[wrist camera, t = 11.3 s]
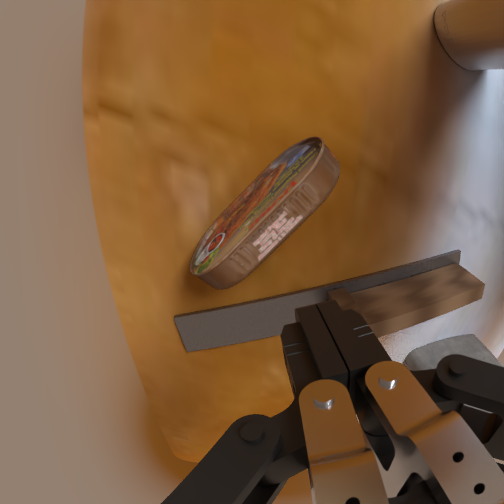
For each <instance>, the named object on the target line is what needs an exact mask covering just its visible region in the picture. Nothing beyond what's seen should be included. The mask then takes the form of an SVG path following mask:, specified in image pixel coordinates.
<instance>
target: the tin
mask: <svg viewBox="0 0 504 504" xmlns="http://www.w3.org/2000/svg"><path fill="white" fill-rule="evenodd" d="M339 173H340V165H339V162H338V160H337V158H336V157H335V156H334V155H333V153H332V152H331V151H330V150H329V149H328V148H327V146H326V145H325V144H324V142H323V140H322V139H321V138H320V137H310V138H307V139H305V140H302V141H300V142H298V143H297V144H295V145H293V146H291V147H290V148H289V149H287V150H286V151H284V152H283V153H282V154H281V155H280V156H278V157H277V158H276V159H275V160H274V161H273V162H272V163H271V164H270V165H269V166H268V167H267V168H266V169H265V170H264V171H263V172H262V173H261V174H260V175H259V176H258V177H257V178H256V179H255V180H254V181H253V182H252V183H251V184H250V185H249V186H248V187H247V188H246V189H245V190H244V191H243V192H242V193H241V194H240V195H239V196H238V197H237V198H236V199H235V200H234V201H233V202H232V203H231V204H230V205H229V207H228V208H227V209H226V210H225V211H224V212H223V213H222V214H221V215H220V216H219V217H218V218H217V219H216V220H215V222H214V223H213V224H212V225H211V226H210V228H209V229H208V230H207V232H206V233H205V234H204V236H203V237H202V239H201V240H200V242H199V244H198V246H197V248H196V250H195V252H194V254H193V257H192V260H191V263H190V271H191V273H192V274H193V275H195V276H198V277H199V278H200V279H202V280H203V281H204V282H206V283H207V284H209V285H210V286H212V287H214V288H216V289H227V288H230V287H232V286H234V285H236V284H238V283H239V282H241V281H242V280H243V279H245V278H246V277H247V276H249V275H250V274H251V273H252V272H253V271H254V270H255V269H256V268H257V267H258V266H259V265H260V264H261V263H262V262H263V261H264V260H265V259H266V258H267V257H268V256H270V255H271V254H272V253H273V252H274V251H275V250H276V249H277V248H278V247H279V246H280V245H281V244H282V243H283V242H284V241H285V240H286V239H287V238H288V237H289V236H290V235H291V234H292V233H293V232H294V231H295V230H296V229H297V228H298V227H299V226H300V225H301V224H302V223H303V222H304V221H305V220H306V219H307V218H308V217H309V216H310V215H311V214H312V213H313V212H314V211H315V210H316V209H317V208H318V207H319V206H320V205H321V204H322V203H323V202H324V201H325V199H326V198H327V197H328V196H329V194H330V193H331V191H332V190H333V188H334V186H335V184H336V182H337V180H338V177H339Z"/></svg>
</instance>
